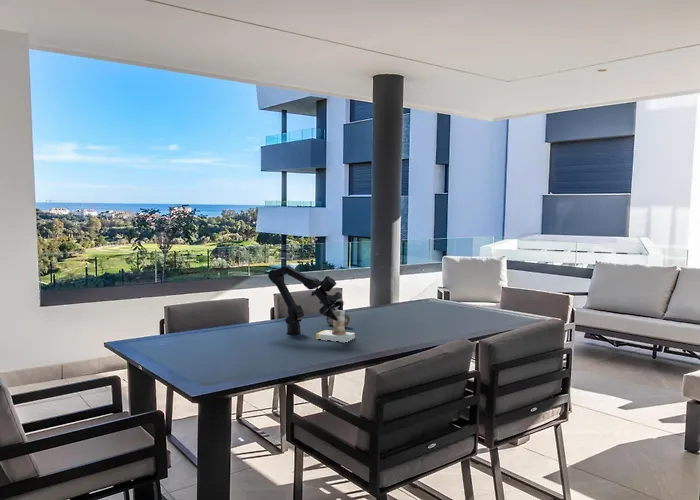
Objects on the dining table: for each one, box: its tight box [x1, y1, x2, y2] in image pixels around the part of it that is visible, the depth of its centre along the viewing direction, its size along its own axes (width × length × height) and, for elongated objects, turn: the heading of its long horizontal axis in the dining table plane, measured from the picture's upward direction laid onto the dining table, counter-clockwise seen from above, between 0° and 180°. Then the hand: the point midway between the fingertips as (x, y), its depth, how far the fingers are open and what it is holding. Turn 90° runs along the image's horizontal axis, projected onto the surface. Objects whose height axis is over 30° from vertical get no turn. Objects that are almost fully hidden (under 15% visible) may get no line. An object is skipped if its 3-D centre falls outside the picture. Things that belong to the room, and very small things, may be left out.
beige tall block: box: [331, 309, 347, 335], centre depth 289 cm, size 6×6×12 cm
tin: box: [326, 313, 351, 327], centre depth 324 cm, size 15×3×8 cm, turn 62°
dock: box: [315, 329, 356, 343], centre depth 290 cm, size 18×11×3 cm, turn 67°
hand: (341, 319), depth 288 cm, fingers open, 9 cm apart
